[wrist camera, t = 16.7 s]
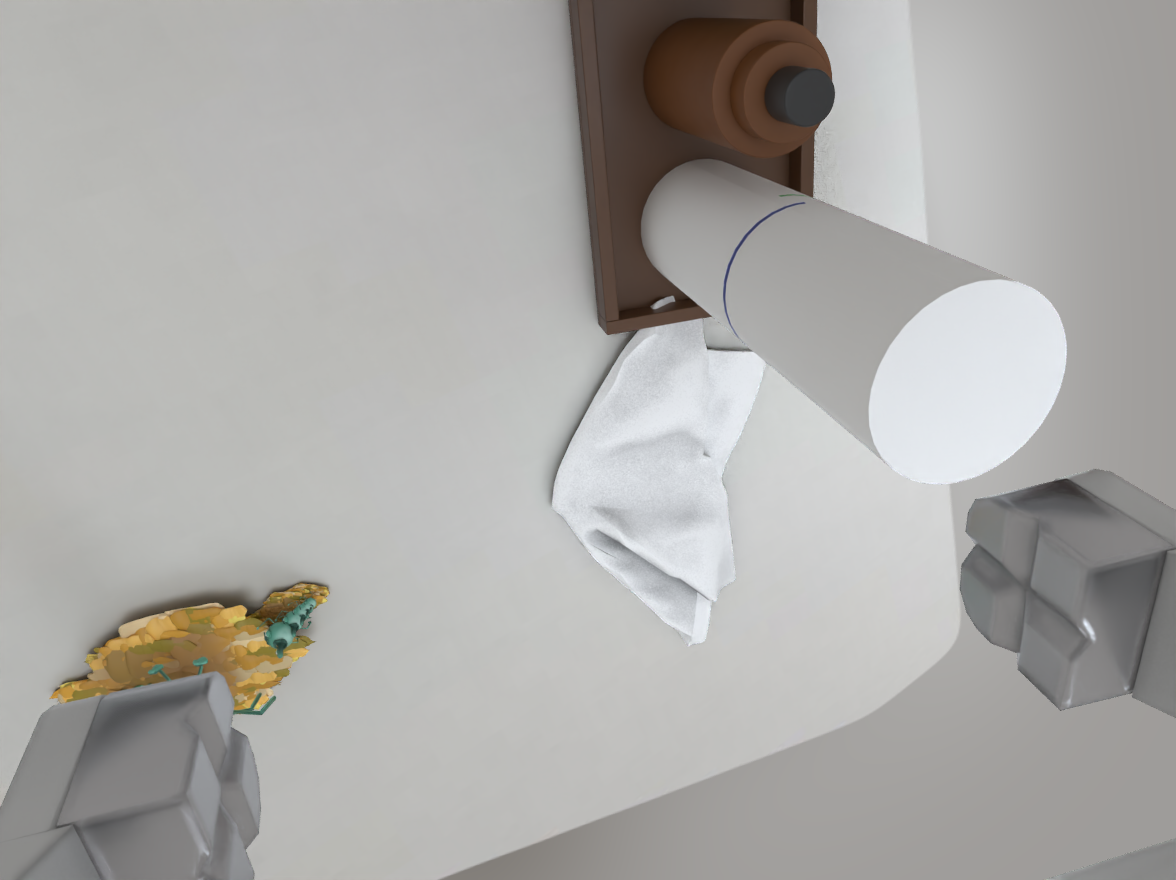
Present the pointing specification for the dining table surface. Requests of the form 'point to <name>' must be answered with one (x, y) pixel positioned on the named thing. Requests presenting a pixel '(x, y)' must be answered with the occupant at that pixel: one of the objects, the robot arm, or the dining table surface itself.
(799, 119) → the brown bottle
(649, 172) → the tray
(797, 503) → the dining table surface
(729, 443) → the cloth
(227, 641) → the frog figurine
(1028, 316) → the cylindrical container
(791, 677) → the dining table surface
